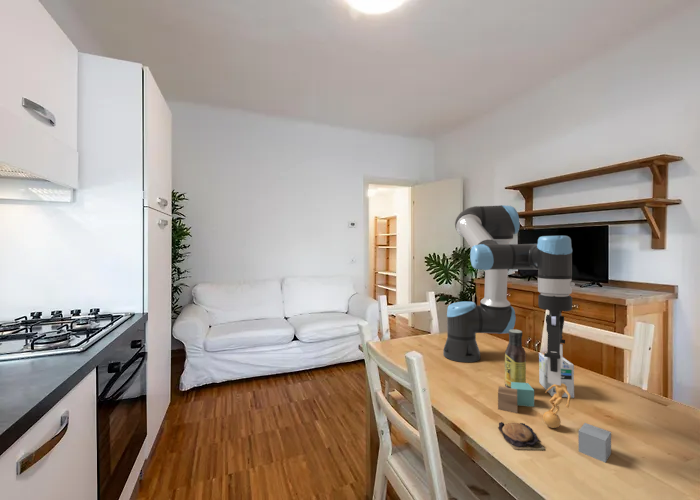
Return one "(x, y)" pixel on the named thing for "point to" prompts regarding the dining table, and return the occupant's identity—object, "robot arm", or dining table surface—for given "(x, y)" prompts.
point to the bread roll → (520, 436)
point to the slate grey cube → (595, 442)
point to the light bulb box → (566, 376)
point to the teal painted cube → (524, 394)
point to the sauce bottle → (515, 359)
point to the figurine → (550, 416)
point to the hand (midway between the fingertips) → (555, 374)
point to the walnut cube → (507, 399)
